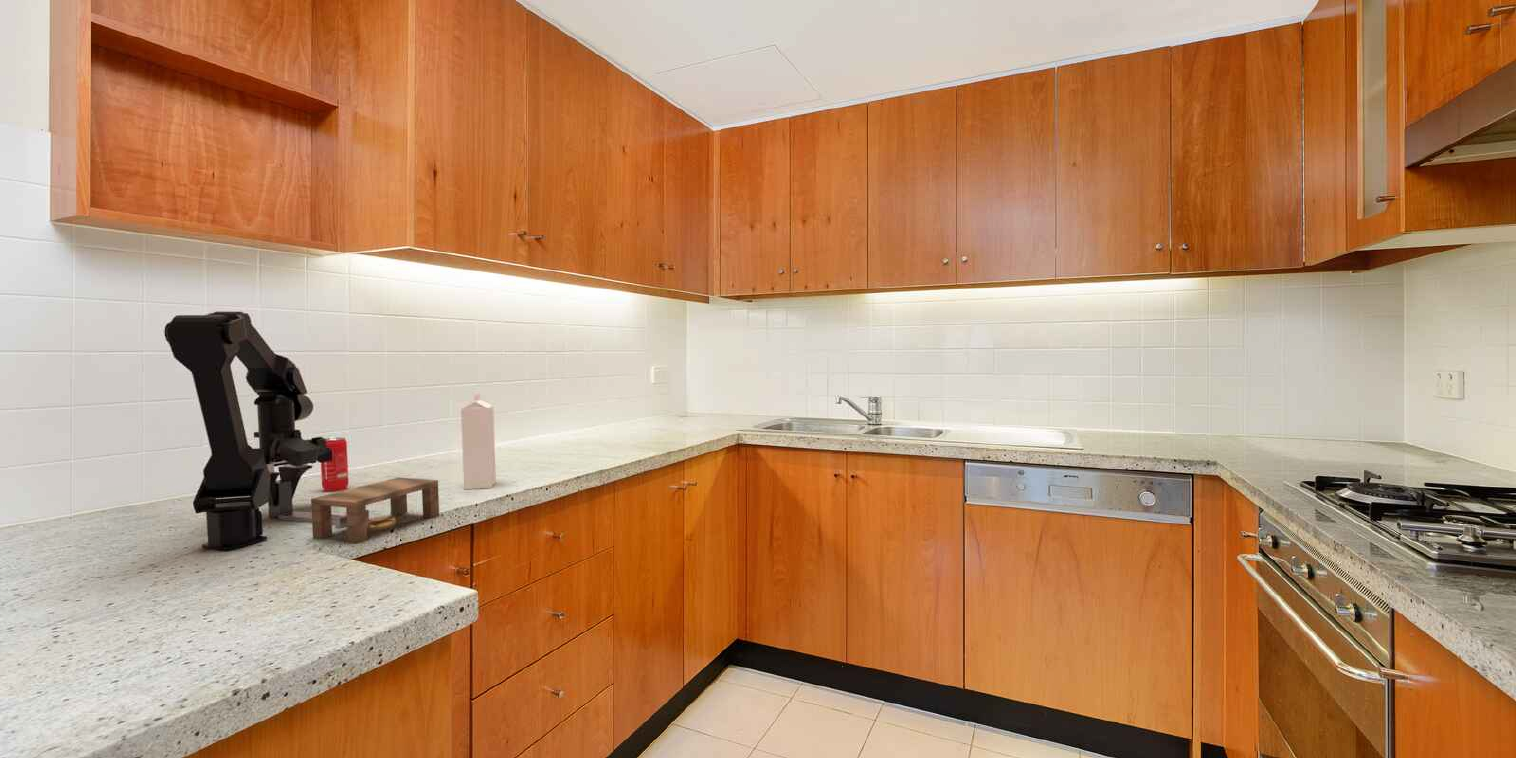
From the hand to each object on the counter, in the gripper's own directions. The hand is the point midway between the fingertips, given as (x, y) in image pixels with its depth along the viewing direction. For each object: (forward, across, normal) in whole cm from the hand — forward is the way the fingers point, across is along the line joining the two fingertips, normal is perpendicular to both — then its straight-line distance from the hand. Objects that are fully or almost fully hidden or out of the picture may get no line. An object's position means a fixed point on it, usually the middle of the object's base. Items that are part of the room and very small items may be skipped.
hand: (280, 504), depth 124 cm
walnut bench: (+2, 0, -25) cm, 25 cm away
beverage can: (+3, +21, +12) cm, 24 cm away
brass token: (+3, 0, -25) cm, 25 cm away
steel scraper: (+2, 0, -9) cm, 9 cm away
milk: (+3, +33, -20) cm, 38 cm away
